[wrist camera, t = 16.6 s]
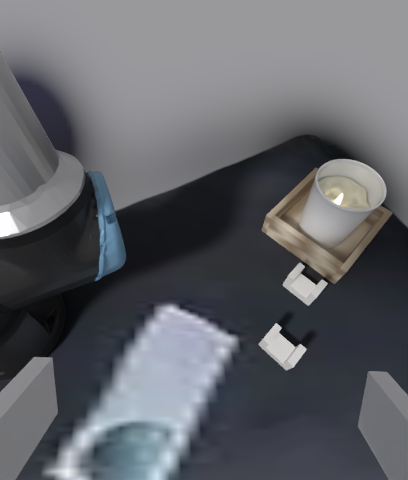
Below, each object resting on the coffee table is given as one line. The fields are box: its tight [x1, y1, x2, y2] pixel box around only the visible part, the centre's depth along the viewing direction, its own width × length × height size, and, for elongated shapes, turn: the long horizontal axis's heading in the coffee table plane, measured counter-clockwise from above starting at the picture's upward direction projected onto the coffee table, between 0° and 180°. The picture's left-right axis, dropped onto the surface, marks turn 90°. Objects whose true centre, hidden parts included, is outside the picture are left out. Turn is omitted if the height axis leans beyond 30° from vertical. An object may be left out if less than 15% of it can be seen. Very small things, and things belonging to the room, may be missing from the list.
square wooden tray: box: [262, 168, 393, 284], centre depth 50 cm, size 15×15×5 cm
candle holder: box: [299, 159, 387, 248], centre depth 46 cm, size 10×10×12 cm
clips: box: [259, 263, 328, 370], centre depth 42 cm, size 8×13×4 cm, turn 136°
